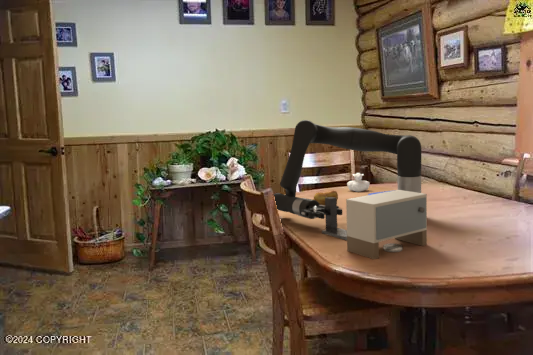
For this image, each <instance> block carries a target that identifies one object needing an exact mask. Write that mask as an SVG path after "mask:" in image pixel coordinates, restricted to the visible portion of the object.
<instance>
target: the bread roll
mask: <svg viewBox="0 0 533 355" xmlns="http://www.w3.org/2000/svg"><path fill="white" fill-rule="evenodd" d="M327 197H335V198H337V200H338V199H339V194H338V191H336V190H331V191H326V192H316V193H315V194H314V196H313V198H312V200H316V201H317V202H318V203H319V204H320V205H323V206H325V198H327Z"/></svg>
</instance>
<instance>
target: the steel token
mask: <svg viewBox="0 0 533 355" xmlns="http://www.w3.org/2000/svg"><path fill="white" fill-rule="evenodd" d="M382 247H383V251H384V252H387V253H388V252H389V253H399V252H403V249H404V248H403V247H404V246H403V245H402V244H400V243H395V242H394V243H393V242H392V243H391V242H390V243H386V244H383V246H382Z"/></svg>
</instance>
